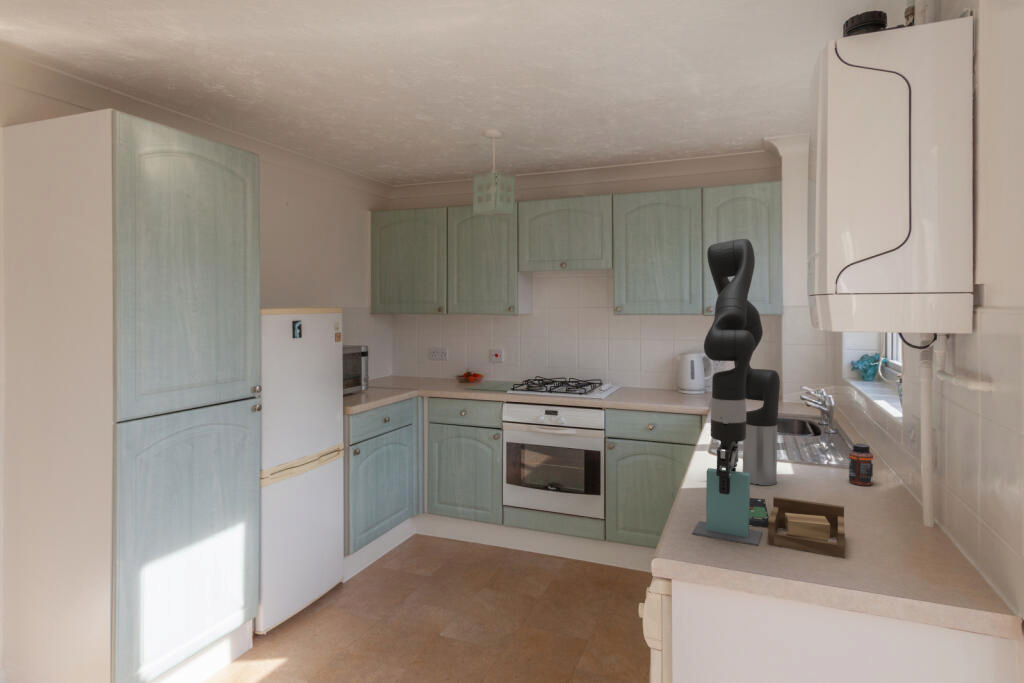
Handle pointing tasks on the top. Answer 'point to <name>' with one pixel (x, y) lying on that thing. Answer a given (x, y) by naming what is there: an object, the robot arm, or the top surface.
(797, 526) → the oak block upper
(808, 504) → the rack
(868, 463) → the supplement bottle
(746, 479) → the teal board
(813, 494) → the top surface
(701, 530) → the grey mat
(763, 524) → the disk drive
